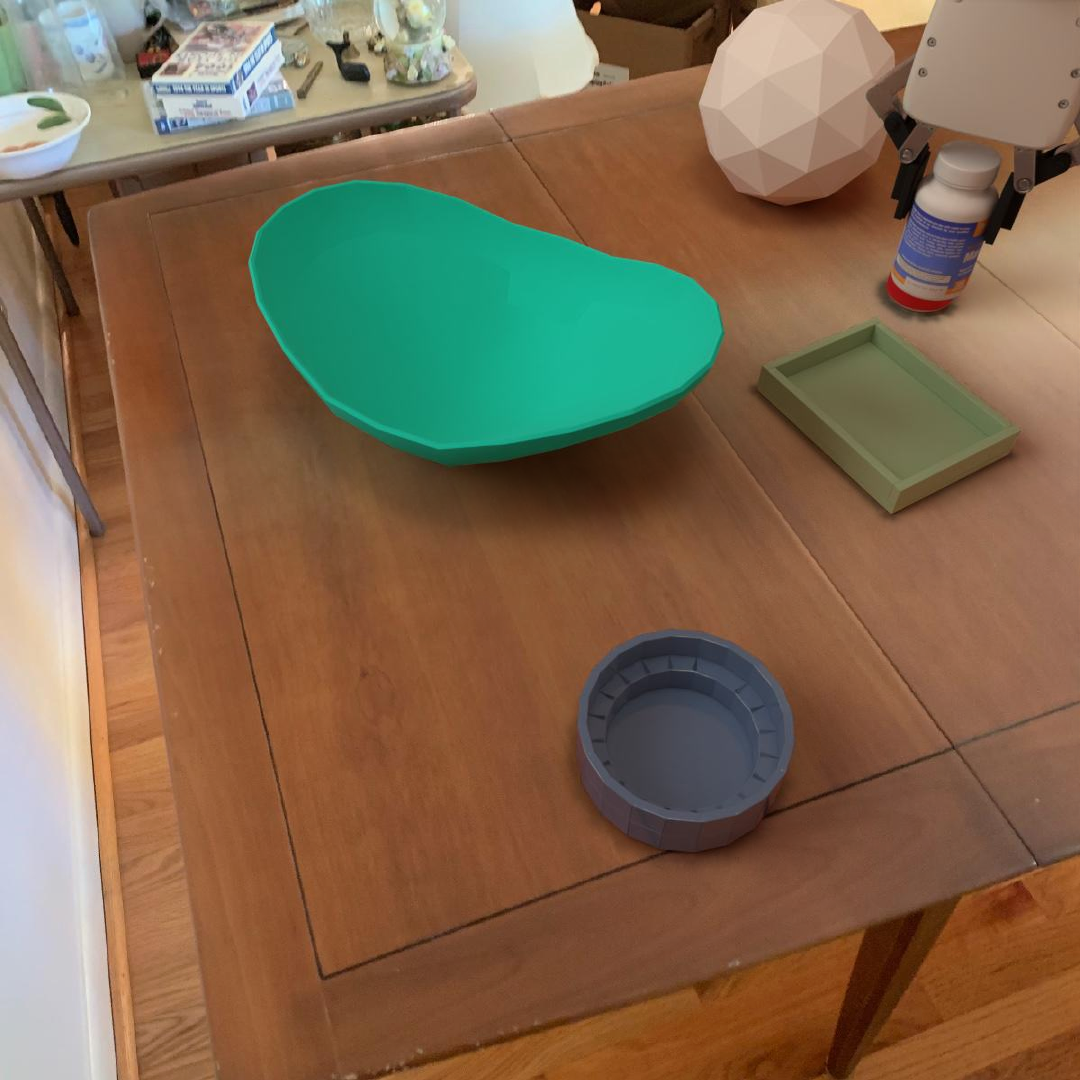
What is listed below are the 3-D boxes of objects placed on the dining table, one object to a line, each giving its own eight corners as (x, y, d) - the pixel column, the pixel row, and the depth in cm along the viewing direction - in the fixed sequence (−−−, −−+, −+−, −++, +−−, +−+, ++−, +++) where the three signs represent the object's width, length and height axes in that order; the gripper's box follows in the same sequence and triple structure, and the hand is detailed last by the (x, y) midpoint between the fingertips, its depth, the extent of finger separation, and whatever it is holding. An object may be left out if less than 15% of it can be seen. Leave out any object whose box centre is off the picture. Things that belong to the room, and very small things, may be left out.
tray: (1009, 454, 81) (1021, 430, 79) (891, 515, 77) (900, 491, 74) (868, 340, 90) (875, 316, 88) (756, 389, 86) (761, 365, 84)
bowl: (822, 789, 62) (839, 753, 58) (650, 894, 58) (657, 863, 54) (699, 640, 69) (708, 599, 66) (539, 723, 65) (539, 685, 61)
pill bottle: (963, 309, 69) (1013, 183, 61) (885, 295, 70) (925, 169, 62) (967, 265, 72) (1016, 141, 64) (892, 252, 73) (932, 128, 66)
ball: (797, 267, 109) (849, 198, 89) (653, 162, 110) (673, 71, 90) (898, 131, 109) (973, 33, 89) (754, 28, 110) (796, -93, 90)
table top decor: (759, 389, 86) (787, 261, 76) (611, 610, 71) (621, 488, 61) (396, 257, 99) (378, 132, 89) (206, 420, 84) (158, 293, 74)
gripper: (1230, -67, 53) (1087, 228, 67) (915, -118, 58) (844, 165, 72) (1214, -16, 48) (1065, 287, 62) (876, -76, 54) (810, 215, 68)
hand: (948, 219), depth 67 cm, fingers closed on pill bottle, 5 cm apart
